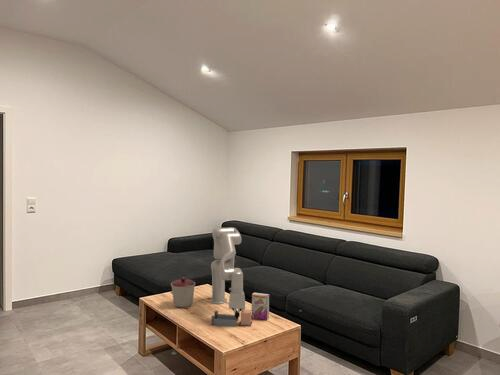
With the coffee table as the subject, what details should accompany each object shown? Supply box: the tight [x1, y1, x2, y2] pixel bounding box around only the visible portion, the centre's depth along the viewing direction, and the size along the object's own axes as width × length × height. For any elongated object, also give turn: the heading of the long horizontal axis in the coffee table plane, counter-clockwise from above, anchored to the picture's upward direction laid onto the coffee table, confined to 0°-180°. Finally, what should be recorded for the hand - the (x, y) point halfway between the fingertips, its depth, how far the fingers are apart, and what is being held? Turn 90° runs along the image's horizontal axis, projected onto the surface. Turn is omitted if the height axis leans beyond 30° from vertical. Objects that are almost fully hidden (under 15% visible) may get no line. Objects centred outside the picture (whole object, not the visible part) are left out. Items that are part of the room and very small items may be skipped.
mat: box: [238, 320, 253, 328], centre depth 254 cm, size 9×8×1 cm
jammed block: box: [240, 309, 252, 325], centre depth 253 cm, size 6×6×8 cm
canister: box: [170, 276, 196, 308], centre depth 287 cm, size 18×18×21 cm
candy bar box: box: [251, 292, 270, 321], centre depth 263 cm, size 11×5×16 cm, turn 71°
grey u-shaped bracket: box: [210, 310, 240, 327], centre depth 255 cm, size 11×16×6 cm
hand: (237, 317), depth 254 cm, fingers closed
